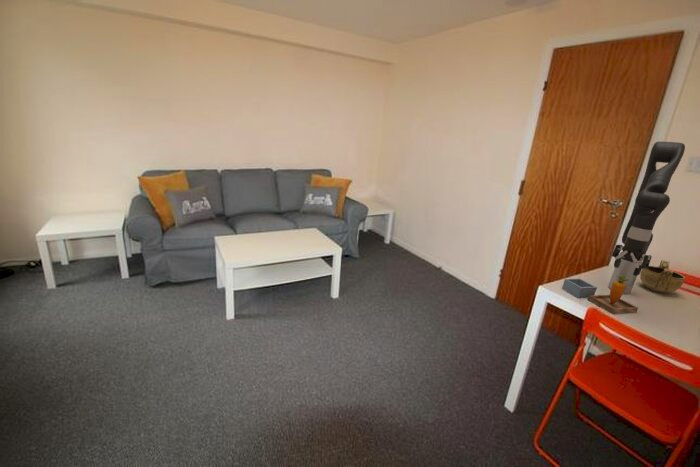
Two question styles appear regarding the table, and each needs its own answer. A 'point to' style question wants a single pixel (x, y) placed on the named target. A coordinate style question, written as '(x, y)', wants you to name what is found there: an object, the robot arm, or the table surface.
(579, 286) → the blue-grey square box
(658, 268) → the tan woven basket
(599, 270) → the table surface
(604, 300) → the tray
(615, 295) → the carrot
